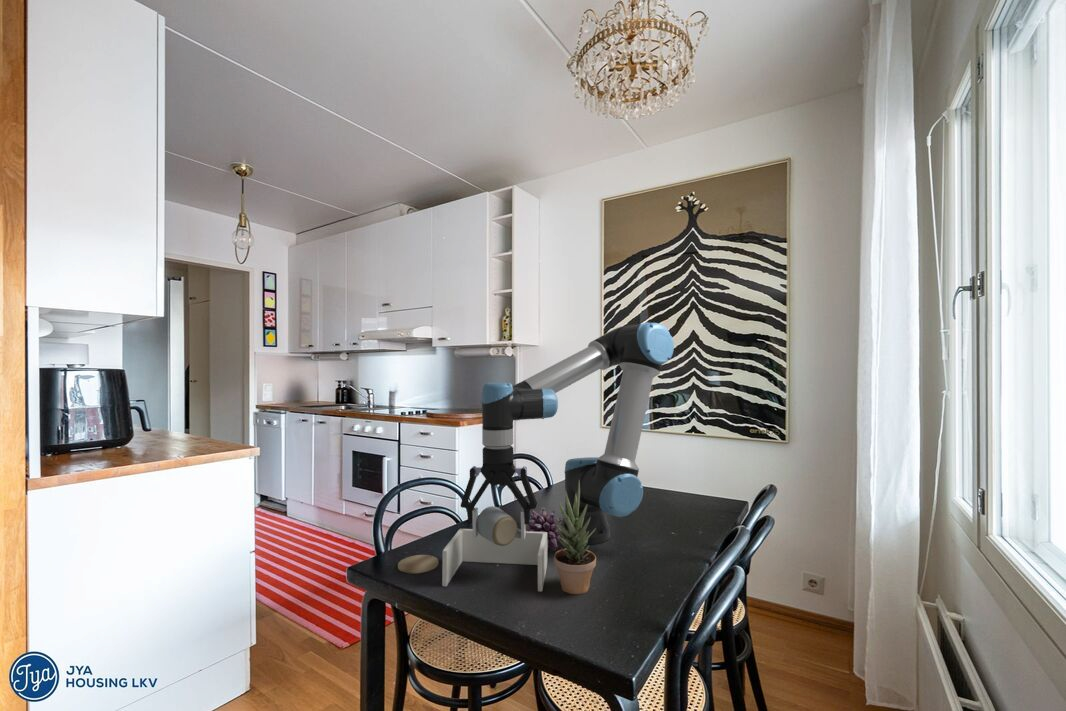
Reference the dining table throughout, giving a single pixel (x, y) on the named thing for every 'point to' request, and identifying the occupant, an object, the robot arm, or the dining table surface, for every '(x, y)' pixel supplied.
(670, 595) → the dining table surface
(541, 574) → the white u-shaped wall
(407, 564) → the coaster
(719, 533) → the dining table surface
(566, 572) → the potted plant
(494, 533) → the ceramic mug
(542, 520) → the purple round cluster
